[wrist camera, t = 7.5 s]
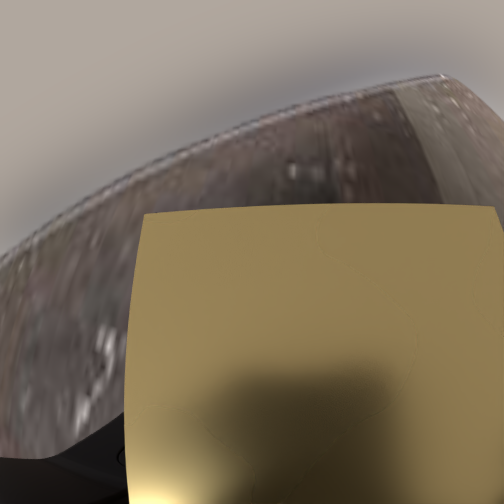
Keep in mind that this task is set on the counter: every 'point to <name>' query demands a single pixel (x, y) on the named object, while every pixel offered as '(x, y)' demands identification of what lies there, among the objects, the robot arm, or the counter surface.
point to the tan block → (317, 356)
